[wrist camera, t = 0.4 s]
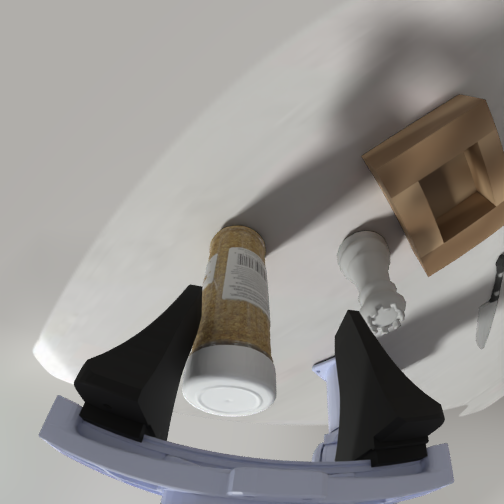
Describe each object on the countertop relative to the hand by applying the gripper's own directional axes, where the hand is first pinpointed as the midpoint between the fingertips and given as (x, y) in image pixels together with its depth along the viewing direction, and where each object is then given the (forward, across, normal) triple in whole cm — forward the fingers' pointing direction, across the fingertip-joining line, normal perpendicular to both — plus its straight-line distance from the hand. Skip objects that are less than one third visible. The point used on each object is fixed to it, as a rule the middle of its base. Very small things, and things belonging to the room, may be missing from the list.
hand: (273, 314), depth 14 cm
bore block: (+10, -12, -7) cm, 17 cm away
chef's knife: (+11, -28, +7) cm, 31 cm away
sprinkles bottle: (+10, +3, +3) cm, 11 cm away
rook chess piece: (+10, -7, +1) cm, 13 cm away
